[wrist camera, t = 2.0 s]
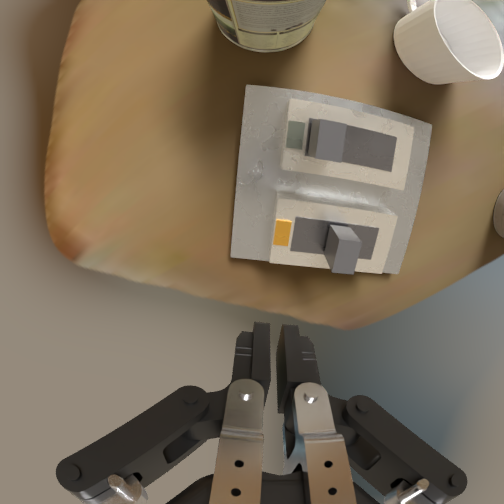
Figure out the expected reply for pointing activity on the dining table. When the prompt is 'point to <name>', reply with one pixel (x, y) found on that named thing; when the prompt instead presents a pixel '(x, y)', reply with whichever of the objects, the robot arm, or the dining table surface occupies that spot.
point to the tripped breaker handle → (342, 249)
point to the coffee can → (266, 22)
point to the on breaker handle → (327, 140)
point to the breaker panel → (325, 180)
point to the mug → (448, 42)
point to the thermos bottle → (499, 214)
